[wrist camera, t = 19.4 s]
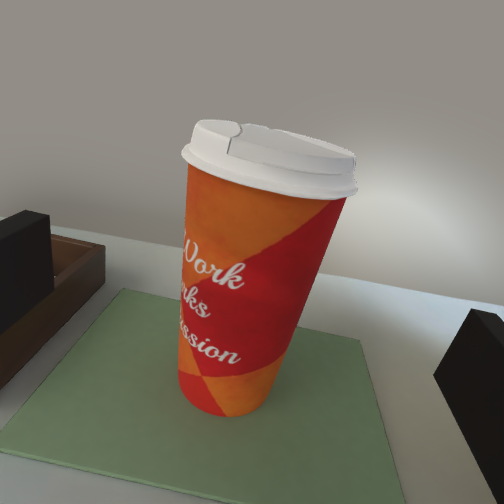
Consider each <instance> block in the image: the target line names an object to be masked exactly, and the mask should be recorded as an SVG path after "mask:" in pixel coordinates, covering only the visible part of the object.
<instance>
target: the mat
mask: <svg viewBox="0 0 504 504" xmlns="http://www.w3.org/2000/svg"><path fill="white" fill-rule="evenodd" d="M180 306H181V301H179V300H174V299H170V298H165V297H161V296H156V295H152V294H147V293H142V292H138V291H133V290H129V289H124V288H123V289H122V290H121V291H120V292H119V293H118V294H117V296H116V297H115V298H114V299H113V300H112V301H111V303H110V304H109V305H108V306H107V307H106V308H105V310H104V311H103V312H102V313H101V314H100V316H99V317H98V318H97V319H96V320H95V321H94V323H93V324H92V325H91V326H90V327H89V328H88V330H87V331H86V332H85V333H84V334H83V335H82V337H81V338H80V339H79V340H78V341H77V342H76V344H75V345H74V346H73V347H72V348H71V349H70V351H69V352H68V353H67V354H66V355H65V357H64V358H63V359H62V360H61V361H60V362H59V364H58V365H57V366H56V367H55V368H54V369H53V371H52V372H51V373H50V374H49V375H48V376H47V378H46V379H45V380H44V381H43V382H42V383H41V385H40V386H39V387H38V388H37V389H36V390H35V392H34V393H33V394H32V395H31V396H30V398H29V399H28V400H27V401H26V402H25V403H24V405H23V406H22V407H21V408H20V409H19V410H18V412H17V413H16V414H15V415H14V416H13V417H12V419H11V420H10V421H9V422H8V423H7V424H6V426H5V427H4V428H3V429H2V430H1V431H0V452H4V453H8V454H13V455H17V456H22V457H26V458H30V459H35V460H39V461H44V462H48V463H53V464H57V465H62V466H66V467H70V468H75V469H79V470H84V471H88V472H93V473H97V474H102V475H106V476H110V477H115V478H119V479H124V480H128V481H133V482H137V483H142V484H146V485H150V486H155V487H159V488H164V489H168V490H173V491H177V492H182V493H186V494H190V495H195V496H199V497H204V498H208V499H213V500H217V501H222V502H226V503H230V504H405V500H404V497H403V493H402V489H401V486H400V482H399V479H398V475H397V472H396V468H395V465H394V461H393V458H392V454H391V450H390V447H389V443H388V440H387V436H386V433H385V429H384V426H383V422H382V419H381V415H380V411H379V408H378V404H377V401H376V397H375V394H374V390H373V387H372V383H371V380H370V376H369V372H368V369H367V365H366V362H365V358H364V355H363V351H362V348H361V344H360V341H359V340H356V339H351V338H346V337H342V336H337V335H333V334H328V333H324V332H319V331H315V330H310V329H306V328H301V327H297V326H296V329H295V331H294V334H293V336H292V339H291V341H290V344H289V346H288V349H287V351H286V354H285V356H284V359H283V361H282V364H281V366H280V369H279V371H278V374H277V376H276V378H275V381H274V383H273V385H272V388H271V390H270V392H269V394H268V396H267V398H266V399H265V401H264V402H263V403H262V405H261V406H259V407H258V408H257V409H256V410H254V411H252V412H250V413H248V414H245V415H242V416H237V417H221V416H215V415H212V414H209V413H206V412H204V411H202V410H200V409H198V408H197V407H195V406H194V405H193V404H192V403H191V402H190V401H189V400H188V399H187V398H186V397H185V396H184V394H183V392H182V390H181V388H180V385H179V380H178V348H179V326H180Z"/></svg>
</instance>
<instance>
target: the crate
mask: <svg viewBox="0 0 504 504" xmlns="http://www.w3.org/2000/svg"><path fill="white" fill-rule="evenodd" d="M51 244H52V257H53V271H54V275H55V276H56V277H55V278H54V285H55V291H53V292H52V293H51V294H50V295H49V296H47V297H46V298H45V299H44V300H43V301H41V302H40V303H39V304H38V305H37V306H35V307H34V308H33V309H32V310H30V311H29V312H28V313H27V314H26V315H24V316H23V317H22V318H21V319H20V320H18V321H17V322H16V323H15V324H14V325H12V326H11V327H10V328H9V329H8V330H6V331H5V332H4V333H3V334H2V335H0V389H1V388H2V387H3V386H4V385H5V384H6V383H7V382H8V381H9V380H10V379H11V378H12V377H13V376H14V375H15V374H16V373H17V372H18V371H19V370H20V369H21V368H22V367H23V366H24V365H25V364H26V363H27V362H28V361H29V360H30V359H31V358H32V357H33V356H34V355H35V353H36V352H37V351H38V350H39V349H40V348H41V347H42V346H43V345H44V344H45V343H46V342H47V341H48V340H49V339H50V338H51V337H52V336H53V335H54V334H55V333H56V332H57V331H58V330H59V329H60V328H61V327H62V326H63V325H64V324H65V323H66V322H67V321H68V320H69V319H70V318H71V317H72V316H73V315H74V313H75V312H76V311H77V310H78V309H79V308H80V307H81V306H82V305H83V304H84V303H85V302H86V301H87V300H88V299H89V298H90V297H91V296H92V295H93V294H94V293H95V292H96V291H97V290H98V289H99V288H100V287H101V286H102V285H103V284H104V283H105V246H104V245H100V244H95V243H90V242H86V241H81V240H77V239H72V238H68V237H63V236H59V235H54V234H51Z"/></svg>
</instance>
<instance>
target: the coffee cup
mask: <svg viewBox="0 0 504 504" xmlns="http://www.w3.org/2000/svg"><path fill="white" fill-rule="evenodd" d="M240 129H242V130H243V133H242V134H240ZM181 153H182V157H183V158H184V159H185V160H186V161H187V162H188V179H187V196H186V216H185V233H184V251H183V269H182V287H181V306H180V326H179V348H178V380H179V385H180V388H181V390H182V392H183V394H184V396H185V397H186V398H187V399H188V400H189V401H190V402H191V403H192V404H193V405H194V406H195V407H197V408H198V409H200V410H202V411H204V412H206V413H209V414H212V415H215V416H221V417H237V416H242V415H245V414H248V413H250V412H252V411H254V410H256V409H257V408H258V407H259V406H261V405H262V403H263V402H264V401H265V399H266V398H267V396H268V394H269V392H270V390H271V388H272V385H273V383H274V381H275V378H276V376H277V374H278V371H279V369H280V366H281V364H282V361H283V359H284V356H285V354H286V351H287V349H288V346H289V344H290V341H291V339H292V336H293V334H294V331H295V329H296V326H297V323H298V321H299V318H300V316H301V313H302V311H303V308H304V306H305V303H306V301H307V298H308V295H309V293H310V290H311V288H312V285H313V283H314V280H315V277H316V275H317V272H318V270H319V267H320V265H321V262H322V259H323V257H324V254H325V252H326V249H327V247H328V244H329V242H330V239H331V236H332V234H333V231H334V228H335V226H336V224H337V221H338V219H339V216H340V213H341V211H342V208H343V206H344V203H345V200H346V198H347V197H349V196H352V195H354V194H355V193H356V192H357V190H358V188H357V182H356V181H355V179H353V176H354V171H355V165H356V158H355V155H354V154H353V153H352V152H350V151H349V150H346V149H344V148H342V147H339V146H337V145H334V144H331V143H328V142H325V141H322V140H318V139H315V138H311V137H308V136H304V135H300V134H296V133H292V132H288V131H283V130H279V129H275V130H272V129H268V128H267V127H265V126H258V125H254V124H248V123H246V124H245V125H243V124H237V123H236V122H234V121H225V120H200V121H198V123H197V124H196V125H195V127H194V131H193V135H192V139H191V143H189V144H187V145H186V146H185V147H184V149H183V150H182V152H181Z"/></svg>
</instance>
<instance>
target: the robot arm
mask: <svg viewBox="0 0 504 504" xmlns="http://www.w3.org/2000/svg"><path fill="white" fill-rule="evenodd" d="M53 291H55V285H54V271H53V257H52V244H51V230H50V217H49V215H46V214H41V213H37V212H32V211H28V210H24V211H22V212H19V213H17V214H15V215H13V216H10V217H8V218H6V219H3V220H1V221H0V335H2V334H3V333H4V332H5V331H6V330H8V329H9V328H10V327H11V326H12V325H14V324H15V323H16V322H17V321H18V320H20V319H21V318H22V317H23V316H24V315H26V314H27V313H28V312H29V311H30V310H32V309H33V308H34V307H35V306H37V305H38V304H39V303H40V302H41V301H43V300H44V299H45V298H46V297H47V296H49V295H50V294H51V293H52V292H53ZM433 376H434V378H435V380H436V382H437V384H438V386H439V388H440V390H441V392H442V394H443V396H444V398H445V400H446V402H447V404H448V406H449V408H450V410H451V412H452V414H453V416H454V418H455V420H456V422H457V424H458V426H459V428H460V430H461V432H462V434H463V436H464V438H465V440H466V442H467V444H468V446H469V448H470V450H471V452H472V454H473V456H474V458H475V460H476V462H477V464H478V466H479V468H480V470H481V472H482V474H483V476H484V478H485V480H486V482H487V484H488V486H489V488H490V490H491V492H492V494H493V496H494V498H495V500H496V502H497V504H504V322H503V321H502V319H501V318H500V317H499V316H498V315H497V314H494V313H490V312H485V311H481V310H476V309H472V308H471V310H470V312H469V313H468V315H467V317H466V319H465V320H464V322H463V324H462V326H461V327H460V329H459V331H458V333H457V334H456V336H455V338H454V340H453V341H452V343H451V345H450V346H449V348H448V350H447V352H446V353H445V355H444V357H443V359H442V360H441V362H440V364H439V366H438V367H437V369H436V371H435V373H434V374H433Z"/></svg>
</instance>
